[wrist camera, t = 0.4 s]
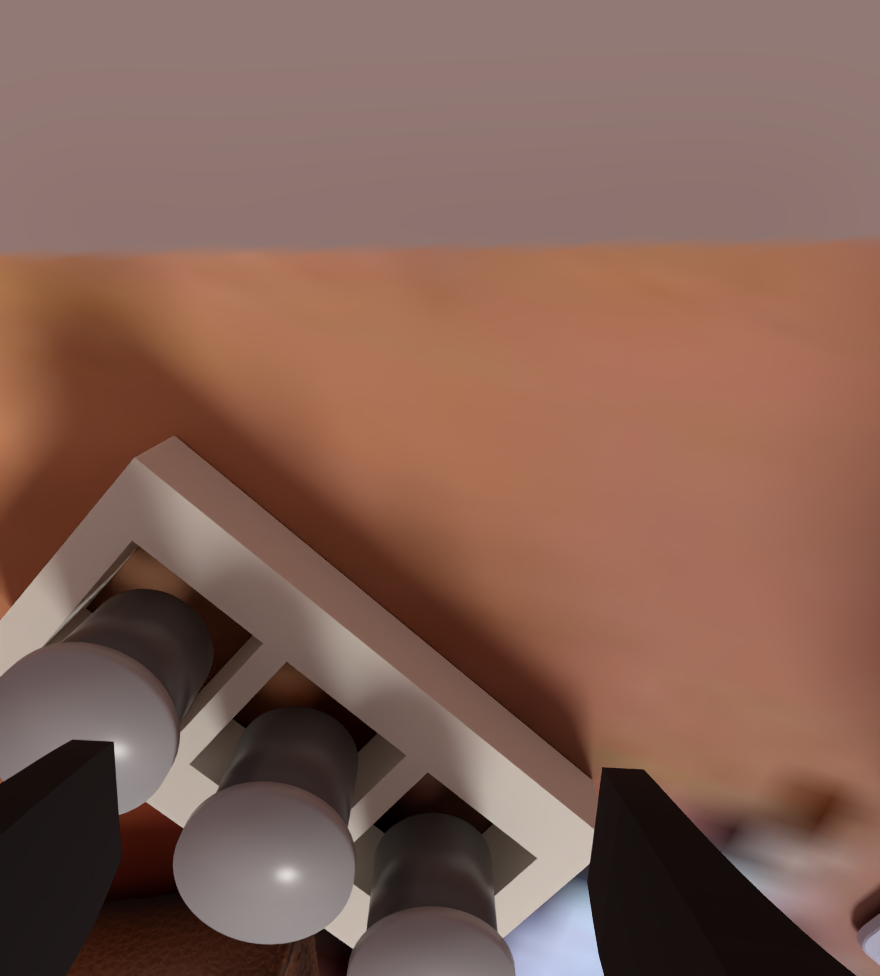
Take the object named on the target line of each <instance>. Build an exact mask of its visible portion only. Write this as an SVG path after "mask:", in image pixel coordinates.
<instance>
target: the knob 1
mask: <svg viewBox="0 0 880 976" xmlns="http://www.w3.org/2000/svg"><path fill="white" fill-rule="evenodd" d="M213 656H214V650H213V642H212V638H211V635H210V632H209V630H208V628H207V626H206V624H205V622H204V621H203V620H202V618H201V617H200V616H199V614H198V613H197V612H196V611H195V610H194V609H193V608H192V607H190V606H189V605H188V604H187V603H185V602H184V601H182V600H181V599H179V598H177V597H175V596H173V595H170V594H168V593H165V592H161V591H157V590H150V589H137V590H130V591H126V592H122V593H120V594H117V595H115V596H113V597H111V598H109V599H108V600H107V601H105V602H104V603H103V604H102V605H101V606H100V607H98V608H97V609H96V610H95V611H94V612H93V613H92V614H91V615H90V616H89V617H88V618H87V619H86V620H85V621H84V622H82V623H81V624H80V625H79V626H78V627H77V628H76V629H75V630H74V631H73V632H72V633H71V634H70V635H69V636H67V637H66V638H65V639H64V640H63V641H62V642H61V643H57V644H53V645H48V646H45V647H42V648H40V649H37V650H35V651H33V652H31V653H29V654H27V655H25V656H24V657H23V658H21V659H20V660H19V661H17V662H16V663H15V664H14V665H13V666H11V667H10V668H9V669H8V670H7V671H6V672H5V673H4V674H3V675H2V676H1V677H0V778H1V779H2V780H3V782H4V781H5V780H7V779H8V778H10V777H11V776H13V775H15V774H16V773H18V772H19V771H21V770H22V769H24V768H26V767H27V766H29V765H30V764H32V763H34V762H35V761H37V760H38V759H40V758H42V757H43V756H45V755H46V754H48V753H50V752H51V751H53V750H55V749H56V748H58V747H60V746H62V745H63V744H65V743H67V742H69V741H71V740H72V739H74V740H93V741H112V742H114V752H115V766H116V781H117V796H118V811H119V815H120V814H123V813H126V812H129V811H131V810H133V809H135V808H137V807H138V806H140V805H141V804H143V803H144V802H146V801H147V800H148V799H149V798H150V797H151V796H152V795H153V794H154V793H155V792H156V791H157V790H158V788H159V787H160V786H161V784H162V783H163V781H164V779H165V778H166V776H167V774H168V772H169V771H170V769H171V767H172V765H173V763H174V761H175V758H176V756H177V753H178V748H179V743H180V726H179V724H180V722H181V720H182V719H183V717H184V715H185V714H186V712H187V710H188V709H189V707H190V705H191V704H192V702H193V700H194V699H195V697H196V695H197V694H198V692H199V690H200V689H201V687H202V685H203V684H204V682H205V680H206V679H207V677H208V675H209V673H210V670H211V668H212V664H213Z"/></svg>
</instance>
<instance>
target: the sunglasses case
mask: <svg viewBox="0 0 880 976" xmlns="http://www.w3.org/2000/svg"><path fill="white" fill-rule="evenodd" d="M66 976H319V968H318V965H317V956H316V949H315V940H314V935H311V936H309V937H307V938H304V939H301V940H297V941H294V942H289V943H283V944H256V943H249V942H245V941H240V940H237V939H234V938H231V937H228V936H226V935H224V934H222V933H220V932H218V931H216V930H214V929H213V928H211V927H209V926H208V925H207V924H205V923H204V922H203V921H201V920H200V919H199V918H198V917H197V916H196V915H195V914H194V913H193V912H192V911H191V910H190V908H189V907H188V906H187V905H186V903H185V902H184V900H183V898H182V897H181V895H180V893H179V892H178V893H171V894H165V895H160V896H156V897H151V898H129V899H122V900H115V901H109V902H104V903H103V905H102V907H101V910H100V912H99V914H98V916H97V919H96V921H95V923H94V926H93V928H92V930H91V932H90V934H89V935H88V937H87V939H86V941H85V943H84V945H83V946H82V948H81V950H80V952H79V954H78V955H77V957H76V959H75V961H74V962H73V964H72V966H71V968H70V970H69V971H68V973H67V975H66Z"/></svg>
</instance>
